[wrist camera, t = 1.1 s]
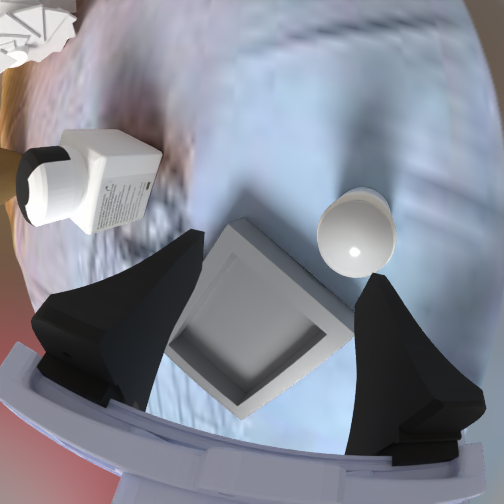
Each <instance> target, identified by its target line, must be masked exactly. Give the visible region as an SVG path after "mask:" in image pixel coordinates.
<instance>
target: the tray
mask: <svg viewBox="0 0 504 504" xmlns="http://www.w3.org/2000/svg"><path fill="white" fill-rule="evenodd" d="M354 336H355V335H354V312H353V311H352V310H351V309H350V308H349V307H348V306H347V305H345V304H344V303H343V302H342V301H341V300H340V299H339V298H338V297H336V296H335V295H334V294H333V293H332V292H331V291H330V290H328V289H327V288H326V287H325V286H324V285H323V284H322V283H320V282H319V281H318V280H317V279H316V278H315V277H314V276H312V275H311V274H310V273H309V272H308V271H307V270H305V269H304V268H303V267H302V266H301V265H300V264H299V263H297V262H296V261H295V260H294V259H293V258H292V257H290V256H289V255H288V254H287V253H286V252H285V251H283V250H282V249H281V248H280V247H279V246H278V245H276V244H275V243H274V242H273V241H272V240H271V239H269V238H268V237H267V236H266V235H265V234H263V233H262V232H261V231H260V230H259V229H258V228H256V227H255V226H254V225H253V224H252V223H251V222H249V221H248V220H247V219H246V218H245V217H244V218H241V219H239V220H236V221H234V222H231V223H229V224H227V226H226V227H225V229H224V230H223V232H222V233H221V235H220V236H219V238H218V239H217V241H216V243H215V244H214V246H213V247H212V249H211V250H210V252H209V253H208V255H207V256H206V258H205V260H204V261H203V263H202V271H201V273H200V276H199V279H198V282H197V284H196V287H195V289H194V291H193V293H192V295H191V297H190V299H189V301H188V302H187V304H186V306H185V308H184V310H183V312H182V314H181V316H180V318H179V319H178V321H177V323H176V325H175V327H174V329H173V331H172V333H171V336H170V338H169V340H168V343H167V346H166V348H165V351H164V353H165V354H166V355H167V356H168V357H169V358H170V359H171V360H172V361H173V362H174V363H175V364H176V365H177V366H178V367H179V368H180V369H182V370H183V371H184V372H185V373H186V374H187V375H188V376H189V377H190V378H191V379H193V380H194V381H195V382H196V383H197V384H198V385H199V386H200V387H202V388H203V389H204V390H205V391H206V392H207V393H208V394H210V395H211V396H212V397H213V398H214V399H216V400H217V401H218V402H219V403H220V404H222V405H223V406H224V407H225V408H226V409H228V410H229V411H230V412H231V413H233V414H234V415H235V416H236V417H238V418H239V419H240V420H243V419H244V418H246V417H247V416H249V415H250V414H252V413H253V412H255V411H257V410H258V409H260V408H261V407H263V406H264V405H265V404H267V403H268V402H270V401H271V400H273V399H274V398H276V397H277V396H279V395H280V394H281V393H283V392H284V391H286V390H287V389H288V388H290V387H291V386H292V385H294V384H295V383H297V382H298V381H299V380H301V379H302V378H303V377H305V376H306V375H307V374H309V373H310V372H311V371H312V370H314V369H315V368H316V367H318V366H319V365H320V364H321V363H323V362H324V361H325V360H326V359H328V358H329V357H330V356H331V355H333V354H334V353H335V352H336V351H338V350H339V349H340V348H341V347H342V346H344V345H345V344H346V343H347V342H348V341H349V340H351V339H352V338H353V337H354Z"/></svg>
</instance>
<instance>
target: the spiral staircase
mask: <svg viewBox="0 0 504 504" xmlns="http://www.w3.org/2000/svg"><path fill="white" fill-rule="evenodd" d="M75 12H76V0H0V73H2V72H3V71H4V70H6V69H7V68H14V67H18V66H20V65H22V64H24V63H25V62H28V61H30V60H33V61H36V62H40V61H42V60H43V59H44V58H45V57H47V56H48V55H49V54H51V53H52V52H61V51H62V49H63V47H64V45H65V43H66V41H67V40H68V39H69V38H72V37H76V33H75V30H74V26H73V22H74V21H76V20H77V17H75V16H74V15H72V14H71V13H75Z"/></svg>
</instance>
